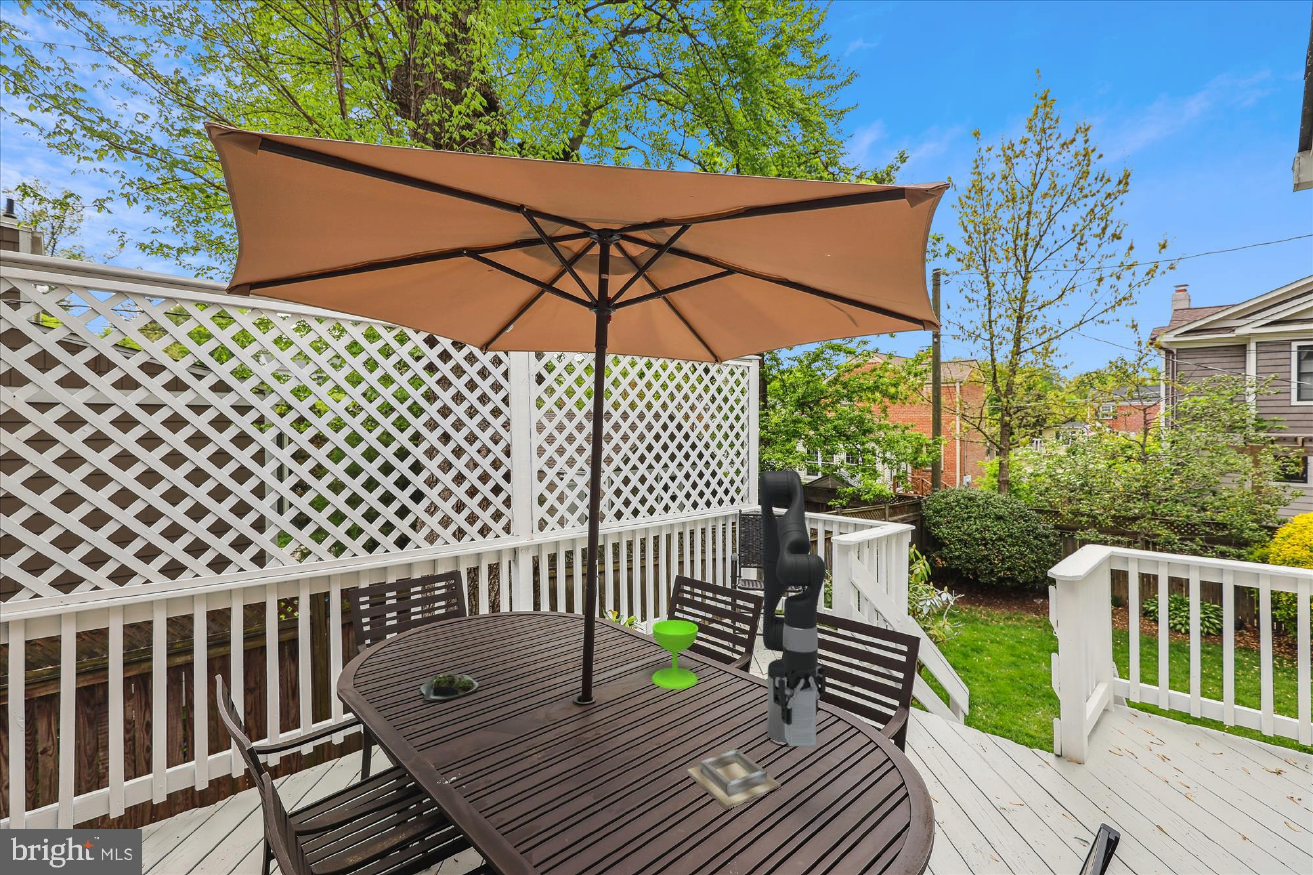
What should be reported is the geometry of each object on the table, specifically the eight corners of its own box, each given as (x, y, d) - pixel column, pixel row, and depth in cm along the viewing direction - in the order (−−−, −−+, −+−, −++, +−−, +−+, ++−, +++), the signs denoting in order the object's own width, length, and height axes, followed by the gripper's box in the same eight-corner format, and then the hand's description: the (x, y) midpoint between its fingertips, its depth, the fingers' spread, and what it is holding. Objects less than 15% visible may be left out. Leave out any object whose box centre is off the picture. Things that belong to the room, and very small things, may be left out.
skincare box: (810, 736, 125) (810, 682, 125) (816, 746, 121) (816, 691, 121) (783, 736, 125) (783, 683, 125) (788, 746, 121) (789, 691, 121)
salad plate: (409, 687, 186) (409, 673, 186) (462, 673, 197) (462, 660, 197) (427, 708, 171) (427, 693, 171) (483, 693, 182) (484, 678, 182)
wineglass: (699, 689, 186) (699, 635, 186) (651, 688, 186) (651, 634, 186) (696, 670, 202) (697, 620, 202) (652, 669, 202) (652, 619, 202)
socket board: (738, 756, 146) (738, 742, 146) (780, 788, 132) (780, 773, 132) (687, 773, 138) (687, 759, 138) (726, 810, 124) (727, 794, 124)
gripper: (811, 633, 130) (810, 704, 130) (764, 644, 123) (763, 719, 123) (836, 643, 124) (835, 718, 123) (788, 656, 116) (787, 735, 116)
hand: (799, 718), depth 123 cm, fingers closed on skincare box, 7 cm apart
